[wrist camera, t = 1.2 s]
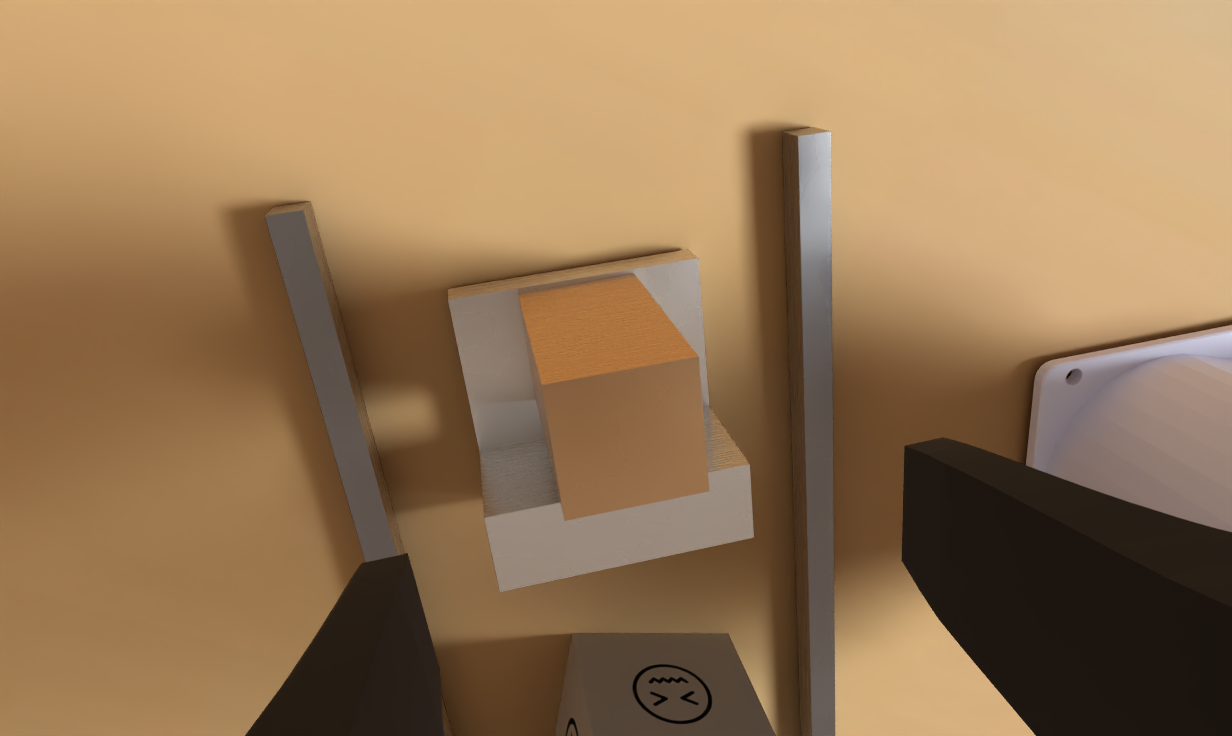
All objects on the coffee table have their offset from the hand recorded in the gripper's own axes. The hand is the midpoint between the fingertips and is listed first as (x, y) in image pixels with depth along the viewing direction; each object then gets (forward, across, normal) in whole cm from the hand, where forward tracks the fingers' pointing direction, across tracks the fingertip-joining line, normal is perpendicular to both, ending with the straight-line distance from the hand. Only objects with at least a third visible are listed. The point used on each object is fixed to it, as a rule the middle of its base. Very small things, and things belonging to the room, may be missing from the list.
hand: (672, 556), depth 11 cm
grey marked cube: (+10, 0, +13) cm, 16 cm away
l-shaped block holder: (+10, 0, +1) cm, 10 cm away
